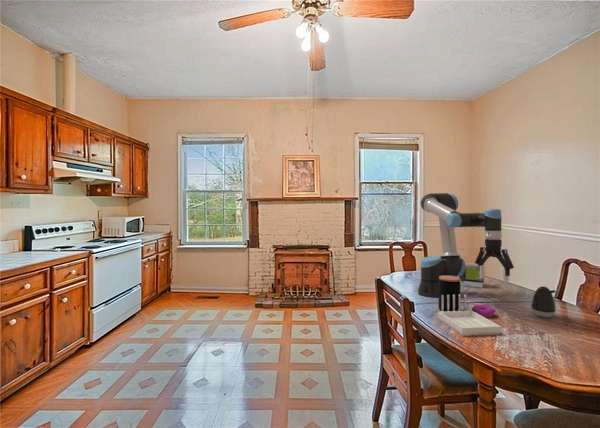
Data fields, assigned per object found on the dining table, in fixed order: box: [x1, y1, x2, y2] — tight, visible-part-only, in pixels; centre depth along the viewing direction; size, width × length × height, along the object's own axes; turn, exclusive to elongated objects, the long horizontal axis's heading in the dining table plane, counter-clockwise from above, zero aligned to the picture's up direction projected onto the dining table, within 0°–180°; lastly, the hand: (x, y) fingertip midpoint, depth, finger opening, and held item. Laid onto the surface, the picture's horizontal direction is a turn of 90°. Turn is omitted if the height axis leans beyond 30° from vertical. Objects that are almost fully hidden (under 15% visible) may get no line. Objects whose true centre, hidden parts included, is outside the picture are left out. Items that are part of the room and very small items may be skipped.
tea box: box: [459, 262, 485, 288], centre depth 236 cm, size 15×10×15 cm, turn 58°
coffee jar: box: [438, 275, 461, 311], centre depth 183 cm, size 11×11×18 cm
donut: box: [471, 304, 496, 319], centre depth 176 cm, size 10×10×5 cm
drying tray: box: [437, 310, 502, 337], centre depth 161 cm, size 22×18×4 cm
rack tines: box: [440, 293, 467, 312], centre depth 173 cm, size 2×16×12 cm, turn 95°
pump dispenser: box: [530, 286, 557, 319], centre depth 173 cm, size 10×10×15 cm
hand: (493, 280), depth 176 cm, fingers open, 13 cm apart
